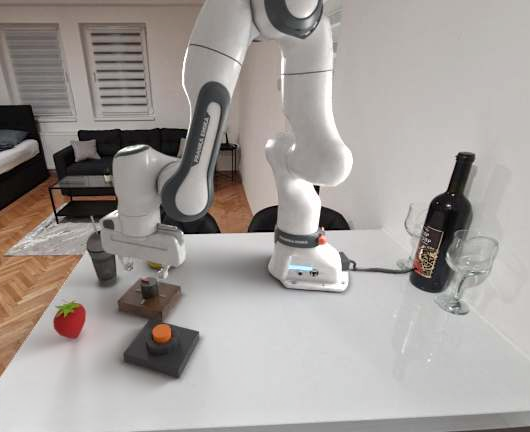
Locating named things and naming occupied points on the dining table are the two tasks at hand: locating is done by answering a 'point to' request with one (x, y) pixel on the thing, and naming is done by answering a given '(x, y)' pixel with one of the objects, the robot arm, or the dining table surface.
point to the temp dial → (149, 287)
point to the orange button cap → (161, 333)
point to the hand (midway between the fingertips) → (146, 273)
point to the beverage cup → (101, 259)
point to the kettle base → (162, 349)
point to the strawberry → (69, 319)
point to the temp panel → (150, 301)
